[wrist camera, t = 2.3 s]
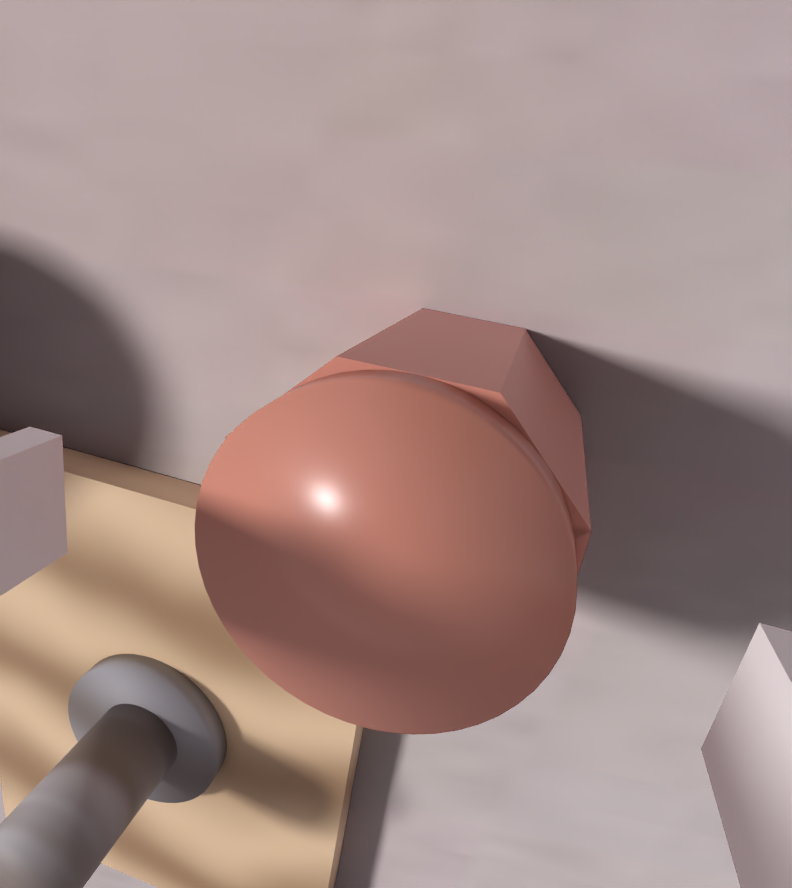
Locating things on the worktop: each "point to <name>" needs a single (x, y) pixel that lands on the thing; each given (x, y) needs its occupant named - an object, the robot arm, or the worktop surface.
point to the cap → (404, 527)
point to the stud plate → (184, 629)
